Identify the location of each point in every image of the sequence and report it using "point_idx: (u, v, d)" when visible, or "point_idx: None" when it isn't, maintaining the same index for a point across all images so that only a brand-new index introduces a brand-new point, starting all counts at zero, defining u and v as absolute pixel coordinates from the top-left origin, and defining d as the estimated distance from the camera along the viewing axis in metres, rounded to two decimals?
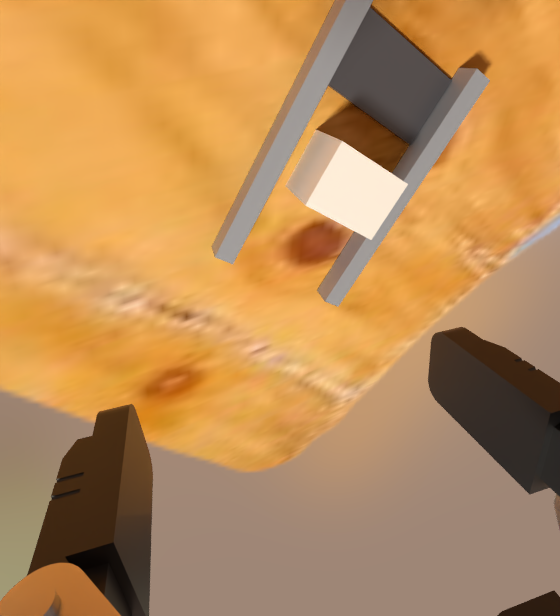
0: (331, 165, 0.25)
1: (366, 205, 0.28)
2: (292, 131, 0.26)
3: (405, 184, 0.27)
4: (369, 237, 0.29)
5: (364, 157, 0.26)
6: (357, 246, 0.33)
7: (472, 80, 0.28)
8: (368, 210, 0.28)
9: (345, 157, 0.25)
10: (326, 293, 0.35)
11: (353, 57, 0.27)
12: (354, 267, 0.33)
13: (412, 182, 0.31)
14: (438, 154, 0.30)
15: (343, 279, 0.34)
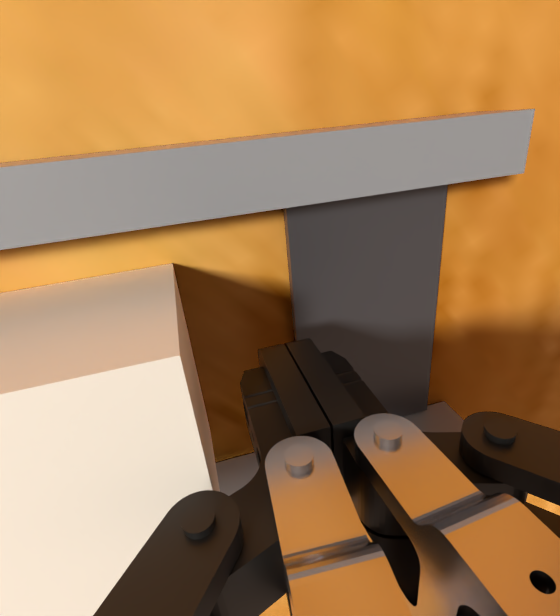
0: (85, 387, 0.06)
1: (89, 558, 0.08)
2: (129, 197, 0.08)
3: None
4: None
5: (196, 445, 0.07)
6: None
7: None
8: (84, 572, 0.08)
9: (147, 402, 0.07)
10: None
11: (361, 228, 0.12)
12: None
13: None
14: None
15: None
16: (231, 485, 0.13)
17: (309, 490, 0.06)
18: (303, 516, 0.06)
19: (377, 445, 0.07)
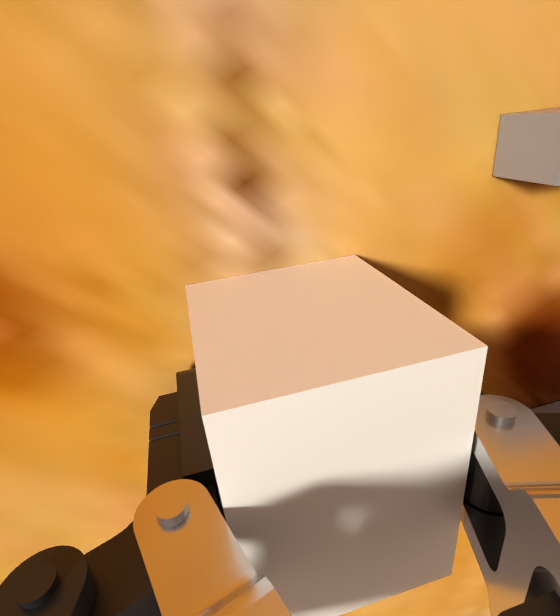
0: (398, 379, 0.06)
1: (341, 556, 0.08)
2: None
3: (448, 571, 0.09)
4: None
5: (468, 440, 0.07)
6: None
7: None
8: (332, 570, 0.08)
9: (444, 395, 0.06)
10: None
11: None
12: None
13: None
14: None
15: None
16: None
17: (188, 541, 0.06)
18: (154, 579, 0.05)
19: (493, 423, 0.07)
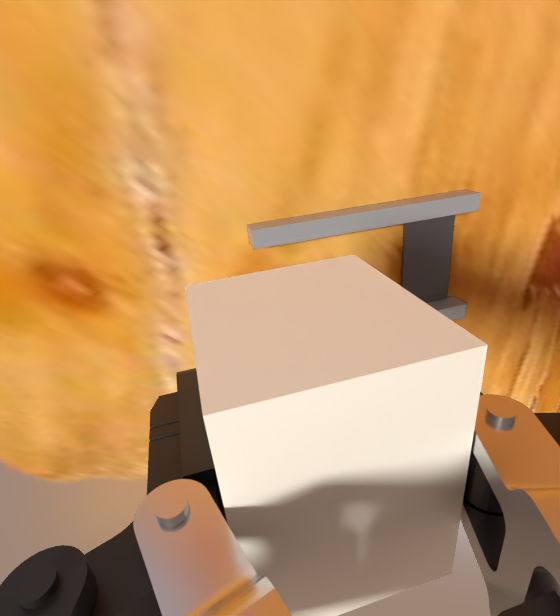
0: (398, 378, 0.06)
1: (342, 556, 0.08)
2: (375, 220, 0.32)
3: (448, 570, 0.09)
4: None
5: (468, 439, 0.07)
6: None
7: (460, 307, 0.38)
8: (332, 570, 0.08)
9: (444, 394, 0.06)
10: None
11: (427, 227, 0.36)
12: None
13: None
14: None
15: None
16: None
17: (188, 541, 0.06)
18: (154, 580, 0.05)
19: (493, 423, 0.07)
